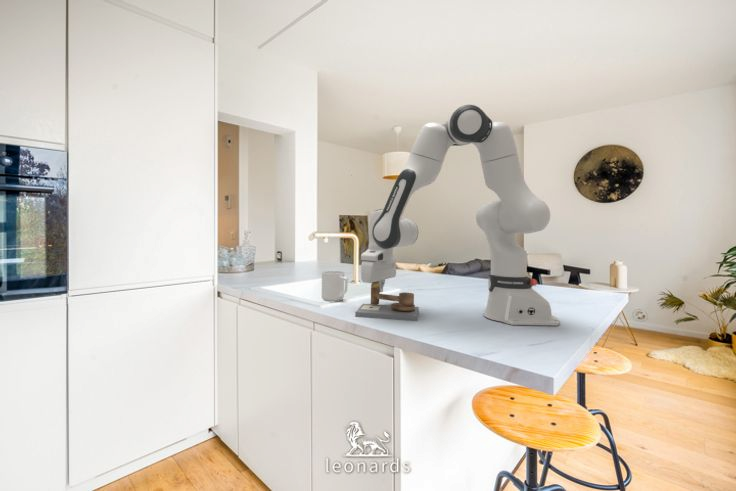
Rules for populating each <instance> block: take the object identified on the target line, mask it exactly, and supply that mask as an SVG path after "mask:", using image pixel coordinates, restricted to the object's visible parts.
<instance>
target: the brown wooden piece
mask: <svg viewBox="0 0 736 491" xmlns="http://www.w3.org/2000/svg"><path fill="white" fill-rule="evenodd" d="M379 286H380V285H379V283H378V282H373V283H370V304H374V305H377V304H378V305H380V300H383V301H393V303H391V304H390V305H391V309H393V310H397V311H413V310H415V307H416V305H415V303H414V302H415V294H414V293H413V292H400V293H399V294H398V295H394V294H385V293H379Z"/></svg>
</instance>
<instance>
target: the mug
mask: <svg viewBox="0 0 736 491" xmlns="http://www.w3.org/2000/svg"><path fill="white" fill-rule="evenodd" d="M348 285H349V278H348V277H346V276H345V272H344V271H341V270H324V271H322V272H321V299H322V300H323V301H324V302H331V303H334V302H340V301H342V300H343V299H344V298H345V295H346V293H347V292H348Z"/></svg>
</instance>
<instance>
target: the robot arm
mask: <svg viewBox="0 0 736 491" xmlns="http://www.w3.org/2000/svg"><path fill="white" fill-rule="evenodd" d="M470 144H472V145H474V146H475V147H476V148H477V151H478V153H479V158H480V164H481V169H482V173H483V178H484V183H485V186H486V188H488V189H489V190H491V191H493V192H494V193H495V194H496V195H497V197H498V199H499V200H494V201H490V202H487V203H484V204H483V205H481V206H479V207H478V209H477V211H476V214H475V220H476V224H477V227H479V229H481V230H482V231H483V234H484V235H485V237H486V239H487V242H488V245H489V250H490V273H489V275H488V282H487V284H488V286H487V288H488V291H489V292H488V296H487V297H488V298H487V303H486V307H485V310H484V313H483V316H484V317H485V318H487V319H489V320H492V321H497V322H502V323H504V324H507V325H511V326H512V325H513V326H559V325H560V319H559V318H558V317H556V316H555V315H553V313H552V307H551V305H550V303H549V301H548V300H547V299H546V298H545V297H543V296H542V295H541V294H540V293H539V292H537V291H536V290H535V289H533V286H534V287H536V286H537V285H538V283H539V282H538V281H537V279H535V278H530V277H529V276H528V274H527V271H528V269H527V268H528V253H527V250H526V249H525V248H524V247H523V246H521V245H520V244H519V243H518V240H517V237H516V234H524V235H525V234H532V233H537V232H541V231H543V230H545V229H546V228H547V227H548V224H549V223H550V220H551V210H550V208H549V205H548V204H547V203H546V201H544V200H542V199H540V198H539V197H538V196H536V195H535V194H534V193H533V191H532V189H530V188H529V186H528V184H527V183H526V180H525V179H524V177H523V172H522V169H521V164H520V160H519V154H518V149H517V148H518V147H517V145H516V141H515V138H514V135H513V133H512V130H511V127H510V126H509V124H508V123H506V122H505V121H493V120H492V119H491V118H490V117H489V116H488V115H487V114H486V113H485V112H484V110H483V109H481V108H480V107H479V106H477V105H475V104H465V105H461V106H459V107H458V108H457V109H456V110H454V111H453V112H452V113H451V115H450V116H449V117H448V119H447V120H446V121H445V122H444V123H438V122H435V121H434V122H433V121H431V122H427V123H425V124H424V125H423V126H422V127H421V128H420V130H419V132H418V133H417V137H415V140H414V142H413V146H412V148H411V151H410V154H409V156H408V159H407V162H406V164H405V166H404V168H403V169H402V171H401V172H400V174H399V175H398V176H397V178H396V180H395V182H394V185H393V187H392V189H391V190H390V191H391V192H390V193H389V196H388V198H387V201H386V203H385V205H384V207H383V208H380V209H376V210H374V211H372V212H371V214H370V217H369V222H368V224H369V225H368V235H369V236H368V237H369V242H368V249H366V250H365V251H364V252H362V253H361V255H360V260H361V261H362V262H361V264H360V269H361V270H360V279H361V282H363V283H365V284H372V283H373V282H378V283H379V285H380V286H379V294H381V293H383V292H384V287H385V284H386V280H389V279H392V278H395V277H396V276H397V261H396V259H395V256H394V253H393V252H394V248H402V247H408V246H412V245H413V244H414V243H416V242H417V240H418V237H419V228H418V226H417V224H416V222H414V221H413V220H411V219H409V218H406V217H403V214H404V212H405V210H406V208H407V204H408V203H409V201H410V199H411V197H412V195H413V194H414V193H415V192H416V191H418V190H420V189H422V188H424V187H426V186H429V185H431V184H432V183H434V182H435V181H436V179H437V178H438V176H439V174H440V173H441V170H442V167H443V164H444V161H445V158H446V155H447V153H448V151H449V149H450V148H451V147H452V146H453V147H454V146H457V147H459V146H467V145H470ZM558 324H559V325H558Z"/></svg>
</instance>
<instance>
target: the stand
mask: <svg viewBox="0 0 736 491" xmlns="http://www.w3.org/2000/svg"><path fill="white" fill-rule="evenodd" d="M419 308H420V307H419V306H415V310H413V311H397V310H393V309H391V304H377V305H374V304H371V303H362V304H361V305H360V306H359V307H358V309H357V310H356V311H355V314H354V315H355V316H354V317H358V318H373V319H386V320H403V321H418V318H419Z"/></svg>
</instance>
